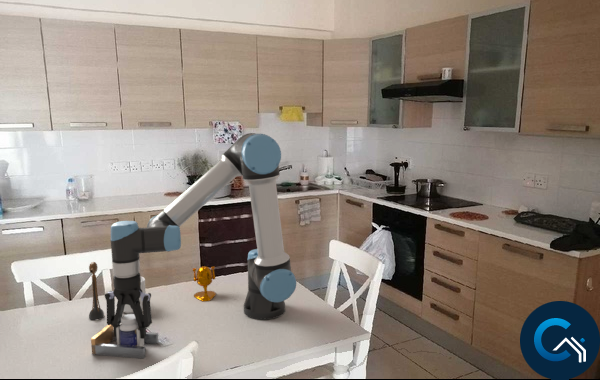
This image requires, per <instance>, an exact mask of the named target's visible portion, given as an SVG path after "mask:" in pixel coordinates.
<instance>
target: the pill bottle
mask: <svg viewBox="0 0 600 380" xmlns="http://www.w3.org/2000/svg"><path fill="white" fill-rule="evenodd" d="M120 324H121V325H120V345H127V346H137V330H136V329H138V328H139V327H138V324H137V321H136V318H135V315H134V313H131V314H129V313H127V314H125V315H122V317H121V323H120Z"/></svg>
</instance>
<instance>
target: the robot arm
mask: <svg viewBox="0 0 600 380" xmlns="http://www.w3.org/2000/svg"><path fill="white" fill-rule="evenodd" d="M281 160H282V149H281V148H280V145H279V143H278V142H277V141H276V140H275V139H274V138H273V137H271V136H270V135H268V134H265V133H254V132H252V133H251V132H250V133H245V134H243V135H241V136H240V137H238V139H237V140H236V141H235V142H234V143H233V144H232V145H231V146H229V148H228V149H227V150H226V151H225V152H224V153H222V155H221V159H220V160H219V161H218V162H216V163H215V164H214V165H213V166H212V167H211V168H210V169H208V171H206V172H204V174H203V175H202V176H201V177H200V178H199V179H197V180H196V181H195V182H194V183H193V184H191V186H190V187H188V188H187V189H186V190H185V191H184V192H182V193H181V194H180V195H179V196H178V197H177V198H176V199H175V200H174V201H173V202H171V203H170V204H169V205H168V206H167V207H165V208H164V209H163V210H162V211H161V212H160V213H159V214H158V215H154V216H153V217H151V218H150V219H149V221H148V222H147V226H146V227H140V226H139V224H138V222H137V221H135V220H122V221H121V220H120V221H117V222H114V223H112V225H111V226H110V247H111V248H110V249H111V250H110V251H111V264H112V266H111V267H112V275H113V276H112V281H113V288H114V289H113V291H112V290H110V291H107V292H106V293H105V294H104V298H105V301H106V324H107V325H112V326H113V329H114V336H115V337H117V341H116V345H120V325H121V324H122V323H121V317H122V316H124V315H123V314H124V312H123V311H124V307H125V304H128V305H130V307H131V309H133V312H134V313H133V314H134V315H135V318H136V321H137V324H138V327H139V328H138V329H136V330H137V346H140V347H145V343H144V338H145V337H146V332H147V328H149V327H150V326H151V325H152V324H153V318H152V308H151V297H152V293H151V292H148V293H143V292H142V290H141V277H142V275H141V273H140V271H141V264H140V263H141V262H140V261H141V260H140V254H147V253H149V254H150V253H161V252H165V253H166V252H168V253H169V252H172V251H173V252H174V251H178V250H180V249H181V246H182V239H181V235H182V234H181V228H180V227H181V226H182V225H184V223H186V222H187V221H188V220H189V219H190V218H191V217H192V216H194V215H195V214H196V213H197V212H198V211H200V209H201V208H202V207H204V206H205V205H206V204H207V203H209V202H210V200H212V199H213V198H214V197H215V196H216V195H217V194H219V192H221V190H223V189H224V188H225V187H226V186H228V185H229V184H230V183H231V182H232V181H233V180H234V179H235V178H236V177H242V179H243V181H244V182H246V183H247V184H248V188H249V197H250V203H251V204H250V205H251V211H252V219H253V228H254V233H255V241H256V247H257V248H255V249H251V250H249V252H248V254H247V289H248V290H247V294H246V296H245V297H246V298H245V301H244V302H243V303H244V304H243V314H244V315H245V316H246V317H248V318H251V319H255V320H272V319H277V318H278V317H281V316H283V315H284V314H285V312H286V303H285V301H286V300H288V299H289V298H291V296H292V295H293V294H294V292H295V291H296V288H297V279H296V276H295V274H294V272H292V266H291V265H292V264H291V257H290V255H289V254H288V253H287V252H285V247H284V238H283V229H282V221H281V214H280V206H279V199H278V189H277V179H278V178H279V177H280V175H281V174H280V173H281V172H280V167H279V166H280V164H281ZM140 297H141V298H142V301H143V302H142V306H143V310H142V309H141V306H140V300H139V298H140ZM116 299H117V303H116ZM115 303H116V304H115Z"/></svg>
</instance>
